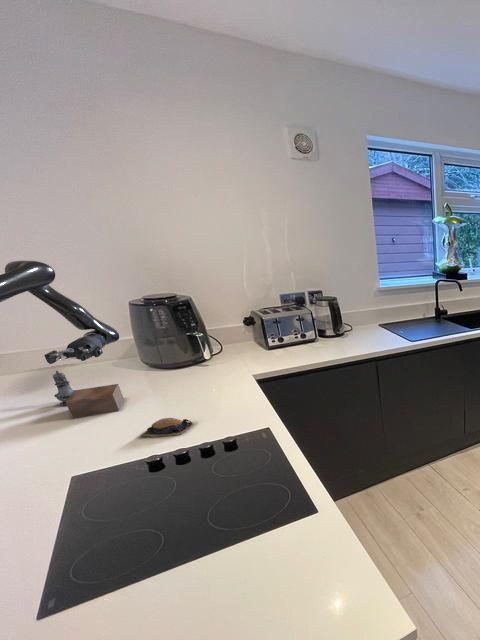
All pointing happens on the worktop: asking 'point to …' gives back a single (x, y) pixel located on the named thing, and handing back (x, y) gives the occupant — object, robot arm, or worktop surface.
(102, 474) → the worktop surface
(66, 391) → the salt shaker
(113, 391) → the brown rectangular block
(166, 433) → the turtle figurine
